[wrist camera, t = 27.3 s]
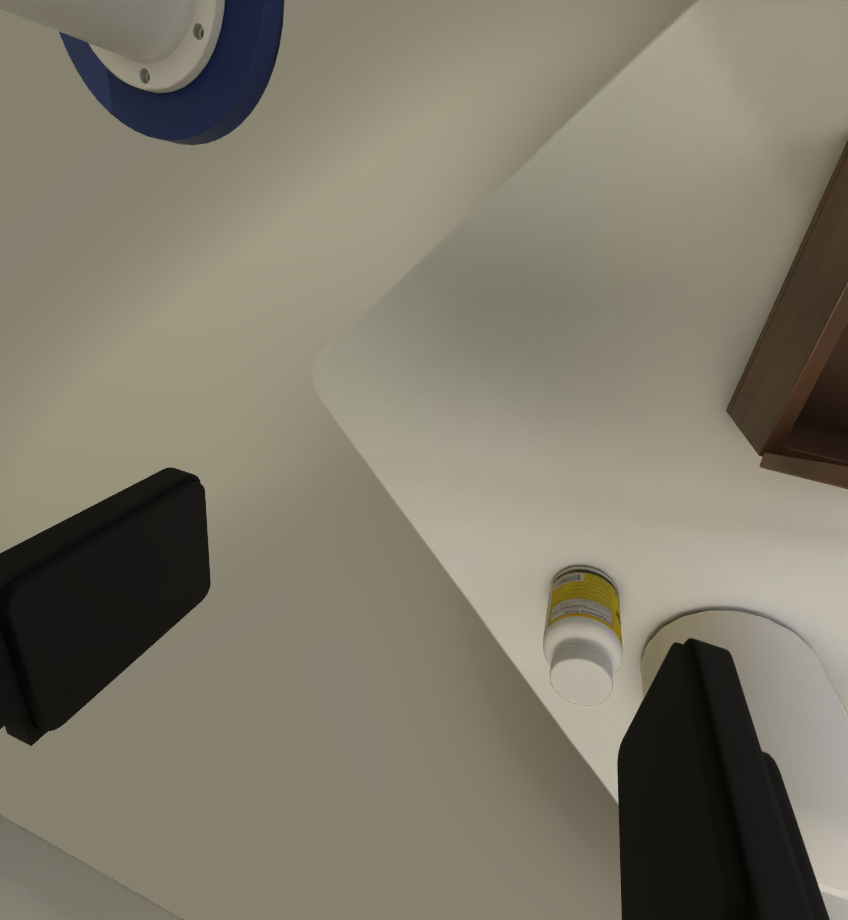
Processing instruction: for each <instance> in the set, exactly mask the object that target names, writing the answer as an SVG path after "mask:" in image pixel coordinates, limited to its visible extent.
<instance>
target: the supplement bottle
mask: <svg viewBox="0 0 848 920" xmlns="http://www.w3.org/2000/svg"><path fill="white" fill-rule="evenodd" d="M543 650H544V655H545V657H546V659H547V661H548V663H549V664H550V666H551V668H550V682H551V685H552V687H553V688H554V690H555V691H556V692H557V693H558V694H559V695H560V696H561V697H562V698H564V699H565V700H567V701H569V702H571V703H574V704H578V705H584V706H591V705H597V704H600V703H602V702H604V701H605V700H607V699H608V698H609V697H610V695H611V693H612V690H613V675H614V674H615V673H616V672H617V670H618V669H619V667H620V665H621V662H622V637H621V622H620V607H619V596H618V591H617V588H616V586H615V584H614V583H613V581H612V580H611V579H610V578H609V577H608V576H607V575H605V574H604V573H602V572H601V571H599V570H596V569H593V568H590V567H583V566H578V567H571V568H568V569H565V570H563V571H562V572H560V573H559V574H558V575H557V576H556V577H555V578H554V580H553V582H552V584H551V588H550V593H549V600H548V608H547V615H546V623H545V631H544V639H543Z"/></svg>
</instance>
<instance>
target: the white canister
mask: <svg viewBox="0 0 848 920" xmlns="http://www.w3.org/2000/svg"><path fill="white" fill-rule="evenodd" d="M689 638H694V639H697V640H700V641H703V642H706V643H709V644H712V645H715V646H718V647H721V648H724V649H727V650H728V651H729V652H730V653H731V655H732V657H733V661H734V664H735V667H736V670H737V673H738V677H739V680H740V683H741V686H742V689H743V692H744V696H745V699H746V702H747V705H748V708H749V712H750V715H751V718H752V721H753V724H754V728H755V731H756V734H757V737H758V740H759V743H760V747H761V750H762V751H763V752H766V753H769V754H770V756H771V757H772V758H773V759H774V760H775V762H776V764H777V766H778V768H779V770H780V773H781V776H782V779H783V782H784V785H785V788H786V791H787V794H788V796H789V799H790V802H791V805H792V808H793V811H794V814H795V817H796V820H797V823H798V826H799V829H800V832H801V835H802V838H803V841H804V844H805V847H806V850H807V853H808V856H809V859H810V862H811V865H812V868H813V871H814V874H815V877H816V880H817V883H818V886H819V889H820V892H821V895H822V898H823V901H824V904H825V907H826V910H827V913H828V916H829V918H830V920H848V715H847V714H846V712H845V710H844V708H843V706H842V704H841V702H840V700H839V698H838V696H837V694H836V692H835V690H834V689H833V687H832V685H831V683H830V681H829V679H828V677H827V675H826V673H825V671H824V669H823V667H822V665H821V664H820V662H819V660H818V658H817V656H816V654H815V652H814V651H813V650H812V649H811V648H810V647H809V646H808V645H806V644H805V643H804V642H803V641H802V640H801V639H800V638H799V637H798V636H797V635H796V634H795V633H793V632H792V631H790V630H788V629H786V628H784V627H782V626H780V625H778V624H776V623H774V622H773V621H771V620H769V619H767V618H764V617H760V616H756V615H752V614H748V613H743V612H739V611H704V612H700V613H695V614H691V615H687V616H683V617H681V618H679V619H677V620H675V621H673V622H671V623H670V624H668V625H666V626H664V627H662V628H661V629H660V631H659V632H658V633H657V634H656V635H655V636H654V637H653V638H652V639H651V640H650V642H649V643H648V645H647V646H646V649H645V652H644V655H643V658H642V661H641V674H642V685H643V696H644V697H645V695H646V694H647V692H648V690H649V688H650V686H651V684H652V682H653V680H654V678H655V676H656V674H657V672H658V670H659V668H660V666H661V664H662V662H663V661H664V659H665V657H666V655H667V653H668V651H669V649H670V647H671V646H672V644H673V643H674V642H678V643H681V644H684V643H685V641H686V640H687V639H689Z"/></svg>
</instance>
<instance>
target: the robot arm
mask: <svg viewBox="0 0 848 920" xmlns="http://www.w3.org/2000/svg"><path fill="white" fill-rule="evenodd" d="M0 9H3V10H5V11H8V12H11V13H13V14H16V15H18V16H21V17H24V18H26V19H29V20H31V21H34V22H36V23H39V24H41V25H44V26H47V27H49V28H52V29H54V30H57V31H59V32H62V33H64V34H67V35H70V36H72V37H75V38H77V39H80V40H82V41H85V42H88V43H89V45H90V47H91V48H92V50H93V52H94V53H95V54H96V55H97V57H98V58H99V59H100V60H101V62H102V63H103V64H104V66H106V67H107V68H108V69H109V70H110V71H111V72H112V73H113V74H114V75H115V76H116V77H118V78H119V79H121V80H123V81H124V82H126V83H128V84H129V85H131V86H134V87H137V88H140V89H142V90H145V91H150V92H155V93H168V92H174V91H176V90H179V89H181V88H184V87H185V86H187V85H188V84H189V83H191V82H192V81H193V80H194V79H196V78H197V77H198V75H199V74H200V73H201V72H202V70H203V69H204V68H205V67H206V65H207V63H208V62H209V60H210V58H211V56H212V54H213V52H214V50H215V47H216V44H217V41H218V38H219V35H220V32H221V27H222V22H223V16H224V10H225V0H0ZM209 588H210V568H209V551H208V535H207V518H206V502H205V490H204V487H203V486H202V485H201V483H200V480H199V478H198V477H197V476H196V475H194V474H190V473H188V472H185V471H181V470H179V469H175V468H166V469H163V470H161V471H159V472H157V473H155V474H153V475H151V476H150V477H148V478H146V479H144V480H142V481H140V482H138V483H136V484H134V485H132V486H131V487H128V488H126V489H124V490H122V491H121V492H118V493H117V494H115V495H113V496H111V497H109V498H107V499H105V500H103V501H101V502H99V503H97V504H95V505H94V506H91V507H89V508H88V509H86V510H84V511H82V512H80V513H78V514H76V515H74V516H72V517H70V518H68V519H66V520H64V521H62V522H61V523H58V524H56V525H55V526H53V527H51V528H49V529H47V530H45V531H43V532H41V533H39V534H37V535H35V536H33V537H31V538H29V539H27V540H25V541H24V542H22V543H20V544H18V545H16V546H14V547H12V548H10V549H8V550H6V551H4V552H2V553H0V729H1V728H2V727H3V726H4V725H5V728H6V731H7V733H8V734H9V735H11V736H13V737H15V738H17V739H19V740H21V741H23V742H25V743H27V744H28V745H30V746H32V745H33V744H34V743H35V742H36V741H37V740H39V739H40V738H41V737H42V736H43V735H44V734H45V733H47V732H48V731H51V730H55V729H57V728H59V727H60V726H62V725H63V724H64V723H66V722H67V721H68V720H69V719H70V718H71V717H72V716H73V715H75V714H76V713H77V712H78V711H79V710H80V709H81V708H82V707H84V706H85V705H86V704H87V703H88V702H89V701H90V700H91V699H92V698H94V697H95V696H96V695H97V694H98V693H99V692H100V691H101V690H103V689H104V688H105V687H106V686H107V685H108V684H109V683H110V682H111V681H113V680H114V679H115V678H116V677H117V676H118V675H119V674H120V673H122V672H123V671H124V670H125V669H126V668H127V667H128V666H129V665H130V664H132V663H133V662H134V661H135V660H136V659H137V658H138V657H140V656H141V655H142V654H143V653H144V652H145V651H146V650H147V649H148V648H150V647H151V646H152V645H153V644H154V643H155V642H156V641H157V640H159V638H161V637H162V636H163V635H164V634H165V633H166V632H168V631H169V630H170V629H171V628H172V627H173V626H174V625H175V624H176V623H177V622H179V621H180V620H181V619H182V618H183V617H184V616H185V615H187V614H188V613H189V612H190V611H191V610H192V609H193V608H194V607H196V606H197V605H198V604H199V603H200V602H201V601H202V600H203V599H204V598H205V596H206V595H207V593H208V591H209ZM618 799H619V831H620V832H619V834H620V864H621V865H620V868H621V900H622V902H621V903H622V920H830V918H829V916H828V913H827V910H826V907H825V904H824V901H823V898H822V895H821V892H820V889H819V886H818V883H817V880H816V877H815V874H814V871H813V868H812V865H811V862H810V859H809V856H808V853H807V850H806V847H805V844H804V841H803V838H802V835H801V832H800V829H799V826H798V823H797V820H796V817H795V814H794V811H793V808H792V805H791V802H790V799H789V796H788V794H787V791H786V788H785V785H784V782H783V779H782V776H781V773H780V770H779V768H778V766H777V764H776V762H775V760H774V759H773V758H772V757H771V756H770V754H769V753H766V752H763V751H762V750H761V747H760V743H759V740H758V737H757V734H756V731H755V728H754V724H753V721H752V718H751V715H750V712H749V708H748V705H747V702H746V699H745V696H744V692H743V689H742V686H741V683H740V680H739V677H738V673H737V670H736V667H735V664H734V661H733V657H732V655H731V653H730V652H729V651H728V650H727V649H724V648H721V647H718V646H715V645H712V644H709V643H706V642H703V641H700V640H697V639H694V638H689V639H687V640H686V641H685V643H684V644H681V643H678V642H674V643H673V644H672V646H671V647H670V649H669V651H668V653H667V655H666V657H665V659H664V661H663V662H662V664H661V666H660V668H659V670H658V672H657V674H656V676H655V678H654V680H653V682H652V684H651V686H650V688H649V690H648V692H647V694H646V695H645V697H644V699H643V701H642V703H641V705H640V707H639V709H638V711H637V713H636V715H635V717H634V719H633V721H632V723H631V725H630V726H629V728H628V730H627V732H626V734H625V736H624V738H623V740H622V742H621V745H620V749H619V754H618ZM0 920H184V919H182V918H180V917H178V916H177V915H175V914H173V913H171V912H170V911H168V910H166V909H164V908H163V907H161V906H159V905H157V904H156V903H154V902H152V901H151V900H149V899H147V898H145V897H144V896H142V895H140V894H138V893H137V892H135V891H133V890H131V889H129V888H128V887H126V886H124V885H122V884H121V883H119V882H117V881H116V880H114V879H112V878H110V877H109V876H107V875H105V874H103V873H102V872H100V871H98V870H96V869H95V868H93V867H91V866H89V865H87V864H86V863H84V862H82V861H81V860H79V859H77V858H75V857H74V856H72V855H70V854H68V853H67V852H65V851H63V850H61V849H60V848H58V847H56V846H54V845H52V844H51V843H49V842H47V841H46V840H44V839H42V838H40V837H38V836H37V835H35V834H33V833H31V832H30V831H28V830H26V829H24V828H23V827H21V826H19V825H17V824H16V823H14V822H12V821H10V820H8V819H7V818H5V817H3V816H1V815H0Z"/></svg>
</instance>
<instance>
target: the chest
mask: <svg viewBox="0 0 848 920" xmlns="http://www.w3.org/2000/svg"><path fill="white" fill-rule="evenodd" d="M726 411H727V413H728V414H729V415H730V417H731V418H732V420H733V421H734V422H735V424H736V425H737V426H738V428H739V429H740V430H741V432H742V433H743V434H744V436H745V437H746V439H747V440H748V441H749V443H750V444H751V445H752V447H753V448H754V449H755V451H756V452H757V454H758V455H759V456H762V457H763V455H764V453H772V454H778V455H784V456H790V457H796V458H801V459H807V460H813V461H819V462H825V463H831V464H837V465H842V466H848V142H847V145H846V147H845V149H844V151H843V154H842V156H841V158H840V160H839V162H838V165H837V167H836V169H835V171H834V173H833V176H832V178H831V180H830V182H829V185H828V187H827V189H826V191H825V193H824V196H823V198H822V200H821V202H820V204H819V207H818V209H817V211H816V213H815V216H814V218H813V220H812V222H811V224H810V227H809V229H808V231H807V233H806V235H805V238H804V240H803V242H802V244H801V247H800V249H799V251H798V253H797V255H796V258H795V260H794V262H793V264H792V266H791V269H790V271H789V273H788V275H787V278H786V280H785V282H784V284H783V286H782V289H781V291H780V293H779V295H778V298H777V300H776V302H775V304H774V306H773V309H772V311H771V313H770V315H769V317H768V320H767V322H766V324H765V326H764V329H763V331H762V333H761V335H760V337H759V340H758V342H757V344H756V346H755V348H754V351H753V353H752V355H751V357H750V360H749V362H748V364H747V366H746V368H745V371H744V373H743V375H742V377H741V379H740V382H739V384H738V386H737V388H736V391H735V393H734V395H733V397H732V399H731V402H730V404H729V406H728V408H727V410H726Z"/></svg>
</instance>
